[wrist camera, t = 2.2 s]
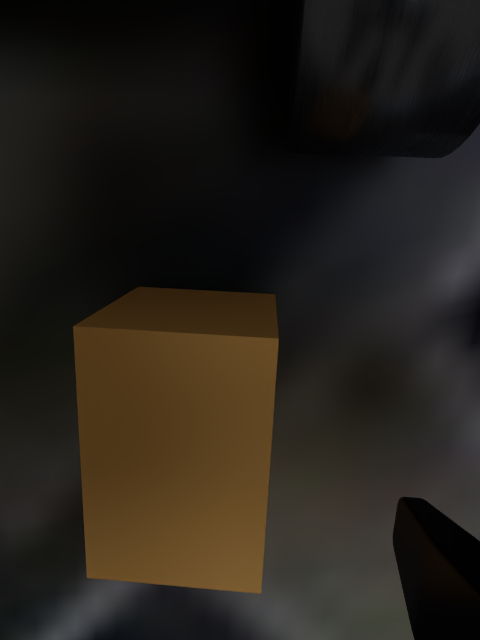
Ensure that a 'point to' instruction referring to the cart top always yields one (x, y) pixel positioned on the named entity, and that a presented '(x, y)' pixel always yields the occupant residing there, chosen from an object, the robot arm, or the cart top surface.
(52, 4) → the cart top surface
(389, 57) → the trolley
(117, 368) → the block
